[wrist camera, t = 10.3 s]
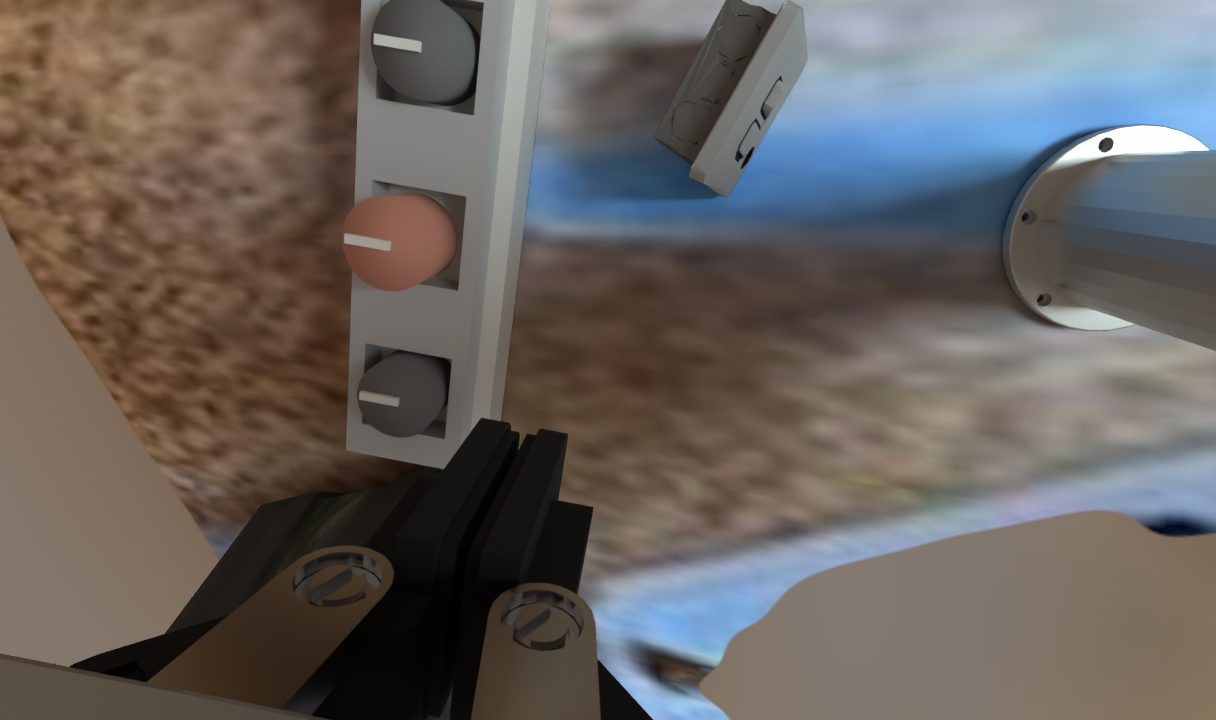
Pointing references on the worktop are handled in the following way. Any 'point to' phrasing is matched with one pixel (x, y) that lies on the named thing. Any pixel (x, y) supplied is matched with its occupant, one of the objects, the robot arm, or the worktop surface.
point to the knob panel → (480, 208)
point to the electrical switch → (735, 90)
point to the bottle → (294, 544)
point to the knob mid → (398, 240)
